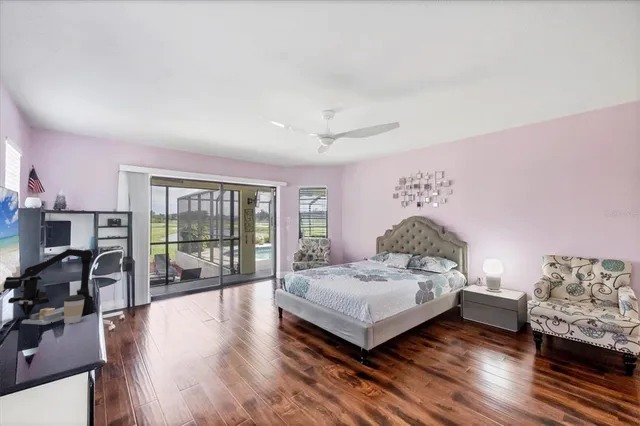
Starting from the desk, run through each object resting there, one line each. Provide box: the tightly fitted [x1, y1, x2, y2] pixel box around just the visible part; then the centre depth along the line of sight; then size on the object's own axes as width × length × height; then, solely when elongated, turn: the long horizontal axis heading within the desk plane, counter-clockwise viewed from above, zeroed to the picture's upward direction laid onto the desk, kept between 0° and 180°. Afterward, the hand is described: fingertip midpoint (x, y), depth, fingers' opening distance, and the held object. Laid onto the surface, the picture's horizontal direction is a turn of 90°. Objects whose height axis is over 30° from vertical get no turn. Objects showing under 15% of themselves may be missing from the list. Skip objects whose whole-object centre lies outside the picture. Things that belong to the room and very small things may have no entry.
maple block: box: [39, 307, 56, 320], centre depth 157 cm, size 5×4×6 cm
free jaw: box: [29, 312, 40, 320], centre depth 158 cm, size 4×8×3 cm, turn 177°
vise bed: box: [21, 310, 64, 326], centre depth 157 cm, size 14×11×4 cm
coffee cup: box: [63, 294, 85, 325], centre depth 157 cm, size 9×9×15 cm
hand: (27, 315), depth 158 cm, fingers closed
